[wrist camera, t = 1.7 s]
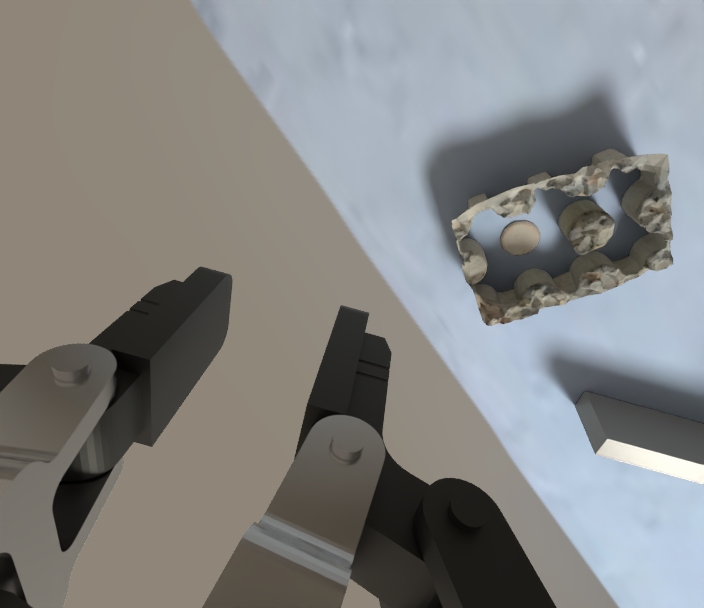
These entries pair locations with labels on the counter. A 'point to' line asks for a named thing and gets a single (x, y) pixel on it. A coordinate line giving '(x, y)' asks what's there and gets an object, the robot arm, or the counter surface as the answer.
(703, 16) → the counter surface
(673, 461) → the box
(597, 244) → the egg carton
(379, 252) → the counter surface
